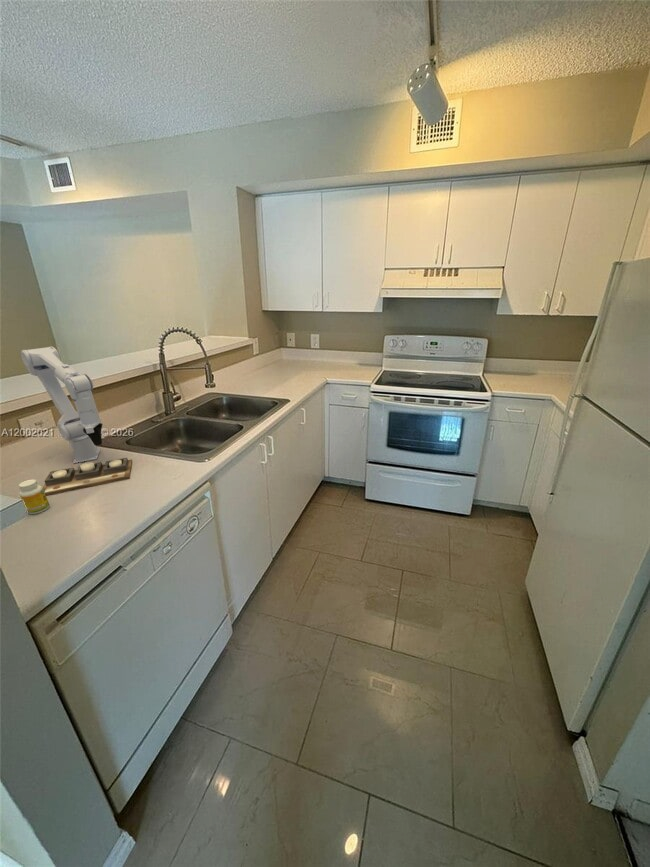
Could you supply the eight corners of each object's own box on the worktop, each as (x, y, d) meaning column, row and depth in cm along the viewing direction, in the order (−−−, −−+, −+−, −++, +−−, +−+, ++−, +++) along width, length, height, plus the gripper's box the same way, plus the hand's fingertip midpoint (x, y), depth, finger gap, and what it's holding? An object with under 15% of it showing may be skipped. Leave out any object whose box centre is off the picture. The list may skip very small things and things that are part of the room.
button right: (111, 466, 123) (109, 461, 123) (123, 464, 125) (121, 458, 124) (109, 471, 120) (108, 466, 119) (122, 469, 122) (120, 463, 121)
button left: (56, 477, 117) (53, 471, 116) (69, 474, 119) (67, 468, 118) (52, 482, 114) (50, 476, 113) (66, 480, 115) (64, 474, 114)
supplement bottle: (26, 509, 102) (14, 483, 98) (48, 502, 105) (37, 476, 102) (29, 517, 99) (17, 489, 95) (51, 508, 102) (40, 482, 98)
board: (51, 476, 120) (48, 469, 118) (132, 461, 129) (130, 454, 128) (39, 497, 108) (35, 489, 107) (129, 478, 118) (127, 471, 116)
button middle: (83, 469, 120) (81, 463, 119) (96, 466, 121) (94, 461, 120) (81, 474, 117) (79, 468, 116) (94, 471, 118) (92, 466, 117)
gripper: (76, 405, 121) (87, 439, 126) (70, 418, 109) (83, 454, 115) (99, 402, 124) (109, 435, 129) (95, 414, 112) (106, 450, 118)
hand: (98, 444), depth 122 cm, fingers closed
